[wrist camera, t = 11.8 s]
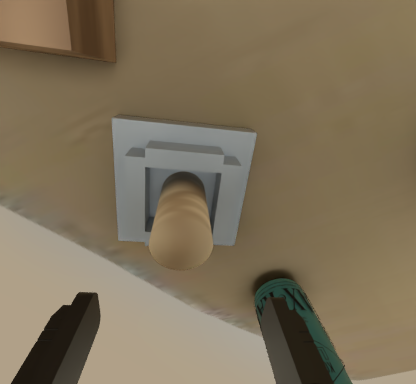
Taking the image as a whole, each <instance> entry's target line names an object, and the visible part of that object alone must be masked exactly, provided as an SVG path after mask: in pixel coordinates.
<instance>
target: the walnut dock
mask: <svg viewBox="0 0 416 384" xmlns="http://www.w3.org/2000/svg"><path fill="white" fill-rule="evenodd" d="M0 47H3V48H11V49H18V50H25V51H33V52H40V53H48V54H55V55H63V56H70V57H78V58H85V59H92V60H100V61H107V62H115V63H116V48H115V25H114V2H113V0H0Z"/></svg>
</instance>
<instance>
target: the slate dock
mask: <svg viewBox="0 0 416 384" xmlns="http://www.w3.org/2000/svg"><path fill="white" fill-rule="evenodd" d="M112 133H113V151H114V169H115V188H116V206H117V224H118V241H137V242H145V246H149V239H150V235H151V231H152V227H153V223H154V219H155V215H156V210H157V206H158V202H159V198H160V194H161V190H162V186H163V183H164V181H165V180H166V179H167V178H168V177H169V176H170V175H172V174H173V173H176V172H181V171H185V172H190V173H193V174H195V175H196V176H198V177H199V178H200V179H201V181H202V182H203V184H204V188H205V194H206V200H207V206H208V213H209V219H210V225H211V232H212V238H213V245H232V246H234V244H235V239H236V235H237V230H238V225H239V220H240V215H241V210H242V205H243V200H244V195H245V190H246V185H247V180H248V175H249V171H250V166H251V161H252V156H253V151H254V146H255V141H256V136H257V133H256V132H255V131H253V130H252V129H247V128H238V127H228V126H219V125H210V124H201V123H191V122H182V121H173V120H163V119H154V118H145V117H135V116H126V115H117V116H115V117H112Z"/></svg>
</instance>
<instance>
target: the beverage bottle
mask: <svg viewBox="0 0 416 384" xmlns="http://www.w3.org/2000/svg"><path fill="white" fill-rule="evenodd" d="M306 296H307V295H305V293H304V292H303V290H302V289H301V287H300V285H298V284H297V283H296V282H294V281H293V280H290V279H285V278H280V279H274V280H271V281H269V282H267V283H265V284H263V285H262V286H261V287H260V288H259V289H258V290H257V292H256V294H255V300H254V301H255V307H256V313H257V316H258V317H257V319H258V321H259V325H260V328H261V317H262V313H263V310H264V306H265V303H266V300H267V298H268V297H281V298H284V299H285V300H286V303H287V305H288V307H289V310H296V311H297V313H298V314H299V315H300V316H301V317H302V318H303V319H304V321H305V323H306V325H307V327H308V329H309V333H310V334H311V336H312V338H313V340H314V344H316V346H317V349H318V351H319V353H320V355H321V357H322V359H323V361H324V363H325V366H326V368H327V370H328V372H329V374H330V376H331V378H332V380H333V382H334V384H352V382H351V380H350V378H349V376H348V375H347V373H346V370H345V368H344V367H345V365H344V366H343V364H342V363H343V362H341V361H342V360H341V359H339V357H338V355H337V353H336V351H335V349H334V346H332V343H333V342H332V343H331V342H330V340H331V339H330V338H328V337H327V334H326V333H325V332H327V331H325V328H323V327H324V326H323V327H322V326H321V324H322V323H321V322H320V321H319V320H320V319H319V320H318V318H319V317H318V318H317V316H318V315H317V316H316V314H317V313H316V314H315V313H314V311H315V310H314V311H313V309H314V308H313V309H312V307H313V306H312V307H311V305H312V304H311V305H310V303H311V302H310V303H309V302H308V300H309V299H308V300H307V297H306ZM322 325H323V324H322ZM261 332H262V330H261ZM262 335H263V334H262ZM263 339H264V338H263ZM266 349H267V348H266ZM267 353H268V352H267ZM269 360H270V359H269ZM340 360H341V361H340ZM274 378H275V377H274Z"/></svg>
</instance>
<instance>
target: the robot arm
mask: <svg viewBox="0 0 416 384" xmlns="http://www.w3.org/2000/svg"><path fill="white" fill-rule="evenodd" d="M99 324H100V308H99V300H98V294H97V293H88V292H79V293H78V294H77V295H76V297H75V299H74V300H73V302H72V304H71V305H63V306H62V307H61V308H60V309H59V310H58V311H57V312H56V313H55V314H53V315H52V316H51V318H50V320H49V322H48V323H47V325H46V326H45V328H44V331H42V333H41V335H40V336H39V338H38V341H37V342H36V343H35V345H34V347H33V348H32V350H31V351H30V353H29V355H28V356H27V358H26V360H25V361H24V363H23V365H22V366H21V368H20V370H19V371H18V373H17V375H16V376H15V378H14V379H13V381H12V383H11V384H77V383H78V380H79V378H80V375H81V373H82V370H83V368H84V365H85V362H86V360H87V357H88V354H89V352H90V349H91V347H92V344H93V341H94V339H95V336H96V334H97V331H98V328H99ZM261 330H262V334H263V338H264V341H265V345H266V348H267V352H268V355H269V359H270V363H271V366H272V370H273V373H274V377H275V380H276V384H334V382H333V380H332V378H331V376H330V374H329V372H328V370H327V368H326V366H325V363H324V361H323V359H322V357H321V355H320V353H319V351H318V349H317V346H316V344H314V340H313V338H312V336H311V334H310V333H309V329H308V327H307V325H306V323H305V321H304V319H303V318H302V317H301V316H300V315H299V314H298V313H297V311H296V310H289V307H288V305H287V303H286V300H285V299H284V298H281V297H268V298H267V300H266V303H265V306H264V310H263V313H262V317H261Z"/></svg>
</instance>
